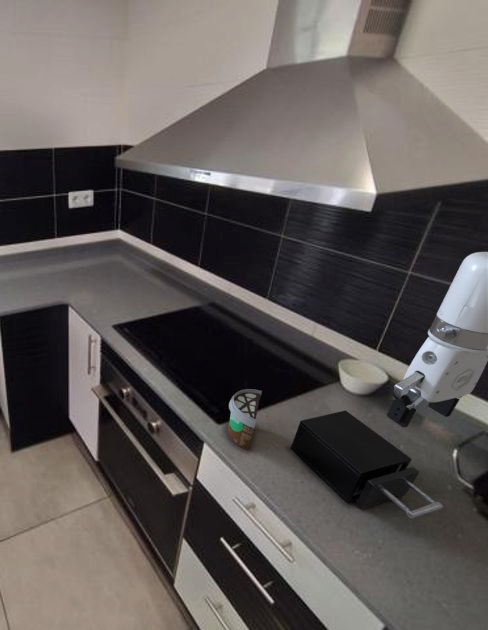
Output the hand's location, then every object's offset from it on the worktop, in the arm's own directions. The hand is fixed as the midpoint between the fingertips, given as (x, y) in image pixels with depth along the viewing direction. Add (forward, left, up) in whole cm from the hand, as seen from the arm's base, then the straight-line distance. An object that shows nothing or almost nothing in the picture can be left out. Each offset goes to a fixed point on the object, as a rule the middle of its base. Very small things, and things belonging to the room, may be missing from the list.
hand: (417, 416), depth 67 cm
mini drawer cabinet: (0, -8, -21) cm, 22 cm away
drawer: (0, -2, -20) cm, 20 cm away
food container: (+15, -23, -21) cm, 35 cm away
